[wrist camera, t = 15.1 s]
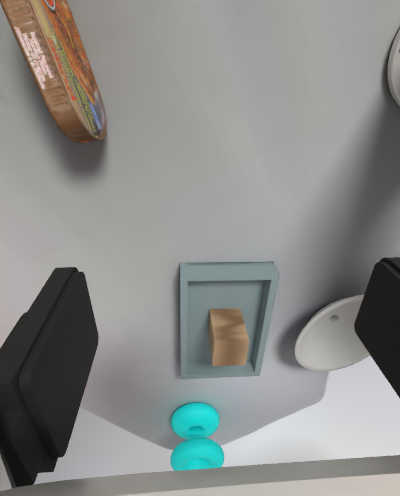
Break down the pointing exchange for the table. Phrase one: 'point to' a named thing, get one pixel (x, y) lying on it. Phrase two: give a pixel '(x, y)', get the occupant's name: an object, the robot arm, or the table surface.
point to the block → (227, 337)
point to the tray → (223, 297)
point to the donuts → (196, 438)
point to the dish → (331, 337)
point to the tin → (59, 66)
